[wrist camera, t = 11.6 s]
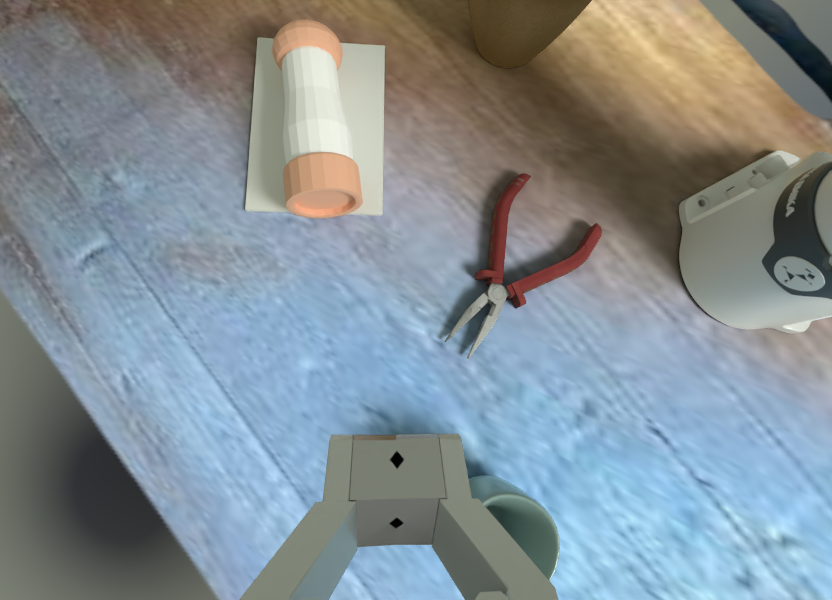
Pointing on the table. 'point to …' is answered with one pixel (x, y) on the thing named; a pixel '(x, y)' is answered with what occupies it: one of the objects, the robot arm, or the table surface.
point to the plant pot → (519, 27)
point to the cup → (520, 519)
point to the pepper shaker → (315, 124)
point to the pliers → (496, 267)
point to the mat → (362, 111)
